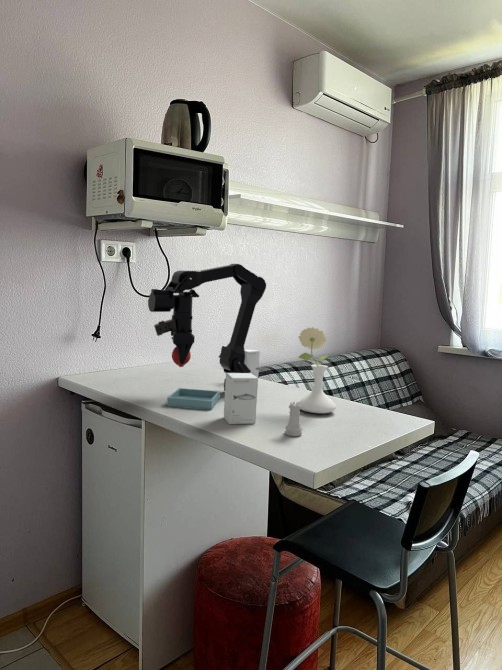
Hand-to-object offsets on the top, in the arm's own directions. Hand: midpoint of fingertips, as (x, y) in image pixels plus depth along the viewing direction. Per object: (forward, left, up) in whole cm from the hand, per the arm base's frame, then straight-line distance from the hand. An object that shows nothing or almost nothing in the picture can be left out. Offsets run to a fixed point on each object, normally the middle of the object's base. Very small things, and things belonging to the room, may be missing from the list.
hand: (181, 362), depth 163 cm
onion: (0, 0, -2) cm, 2 cm away
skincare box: (-18, -30, -12) cm, 37 cm away
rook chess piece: (-37, +28, -12) cm, 47 cm away
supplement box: (-22, +20, -12) cm, 31 cm away
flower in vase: (-42, +3, -12) cm, 43 cm away
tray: (-6, +5, -11) cm, 14 cm away
